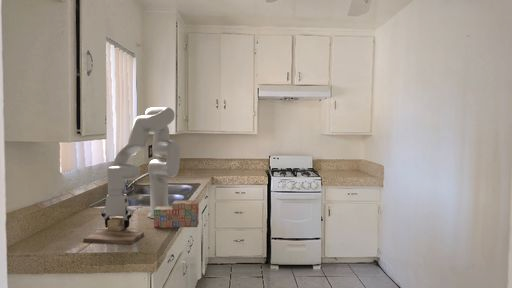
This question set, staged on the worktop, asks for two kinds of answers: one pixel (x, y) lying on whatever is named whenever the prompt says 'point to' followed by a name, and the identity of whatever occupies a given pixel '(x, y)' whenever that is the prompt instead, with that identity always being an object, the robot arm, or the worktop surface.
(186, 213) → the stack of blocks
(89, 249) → the worktop surface
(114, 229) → the block
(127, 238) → the board
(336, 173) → the worktop surface
